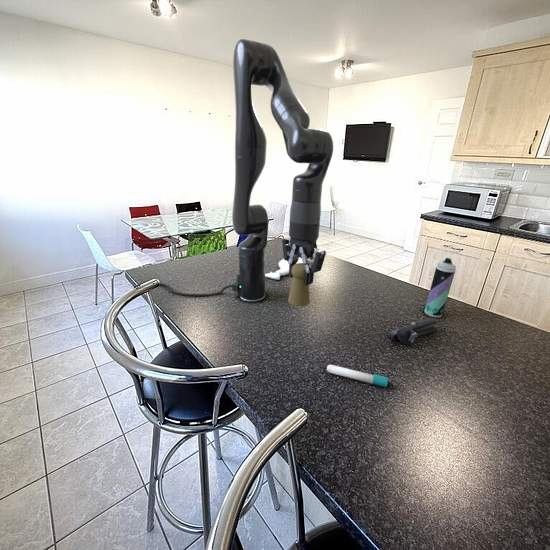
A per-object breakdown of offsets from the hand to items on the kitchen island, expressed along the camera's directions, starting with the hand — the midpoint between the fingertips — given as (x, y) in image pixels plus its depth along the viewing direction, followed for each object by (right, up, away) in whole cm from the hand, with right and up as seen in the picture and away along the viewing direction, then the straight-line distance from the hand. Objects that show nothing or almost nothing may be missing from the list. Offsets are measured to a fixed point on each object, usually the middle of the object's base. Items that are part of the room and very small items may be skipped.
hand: (300, 280), depth 79 cm
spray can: (+47, -12, +20) cm, 53 cm away
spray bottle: (-2, +3, +52) cm, 52 cm away
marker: (+13, -24, -8) cm, 28 cm away
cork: (0, -6, +3) cm, 7 cm away
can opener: (+35, -17, +8) cm, 40 cm away
